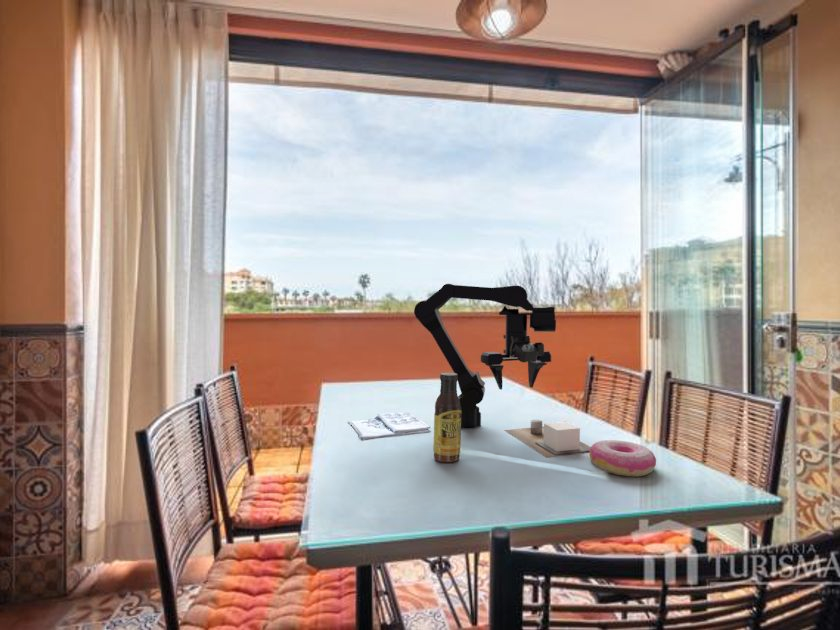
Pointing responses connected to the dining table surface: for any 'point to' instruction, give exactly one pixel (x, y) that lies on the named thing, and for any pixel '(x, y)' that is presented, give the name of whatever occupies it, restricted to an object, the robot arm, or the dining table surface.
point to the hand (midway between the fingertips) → (515, 388)
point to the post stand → (542, 440)
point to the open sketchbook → (389, 426)
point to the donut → (622, 457)
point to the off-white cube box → (561, 436)
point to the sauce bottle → (447, 420)
